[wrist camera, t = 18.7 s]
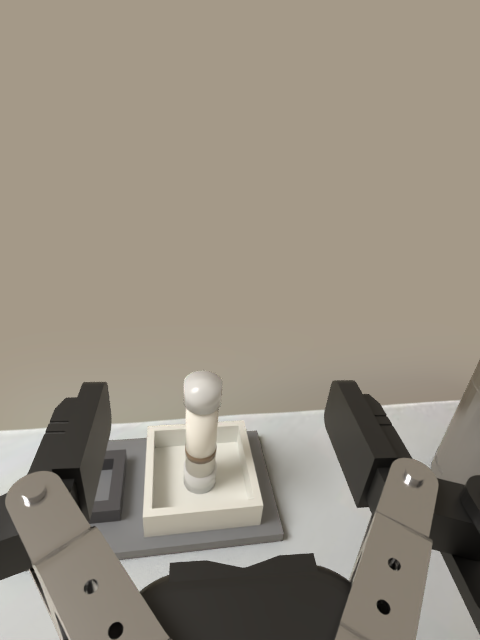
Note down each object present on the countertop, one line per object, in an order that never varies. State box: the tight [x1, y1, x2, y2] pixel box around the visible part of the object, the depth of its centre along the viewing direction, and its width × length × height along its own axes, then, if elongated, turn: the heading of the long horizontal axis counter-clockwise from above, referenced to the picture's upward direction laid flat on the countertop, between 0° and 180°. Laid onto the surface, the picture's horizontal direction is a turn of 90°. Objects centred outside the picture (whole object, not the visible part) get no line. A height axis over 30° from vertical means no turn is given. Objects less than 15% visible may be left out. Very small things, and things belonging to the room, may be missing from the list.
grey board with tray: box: [26, 420, 284, 571], centre depth 43 cm, size 26×14×4 cm, turn 99°
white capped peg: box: [184, 371, 222, 494], centre depth 41 cm, size 4×4×14 cm
